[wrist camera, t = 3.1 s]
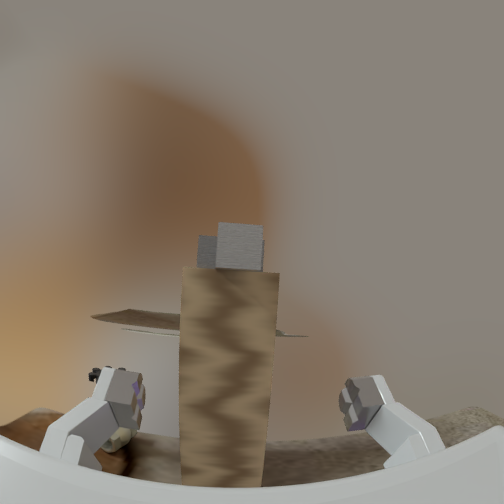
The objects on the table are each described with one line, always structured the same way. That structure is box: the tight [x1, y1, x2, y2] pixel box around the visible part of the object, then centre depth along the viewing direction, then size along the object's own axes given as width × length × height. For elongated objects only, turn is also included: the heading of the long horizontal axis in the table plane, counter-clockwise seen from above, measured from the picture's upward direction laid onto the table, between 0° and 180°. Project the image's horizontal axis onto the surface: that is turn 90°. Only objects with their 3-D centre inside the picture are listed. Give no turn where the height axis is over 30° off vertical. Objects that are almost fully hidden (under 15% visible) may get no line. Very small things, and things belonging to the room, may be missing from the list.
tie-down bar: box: [197, 222, 264, 272], centre depth 29 cm, size 7×17×4 cm, turn 7°
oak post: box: [179, 267, 279, 488], centre depth 33 cm, size 9×12×27 cm
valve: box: [89, 366, 137, 453], centre depth 34 cm, size 7×7×12 cm
